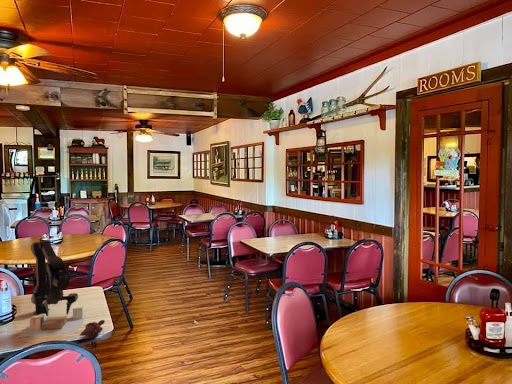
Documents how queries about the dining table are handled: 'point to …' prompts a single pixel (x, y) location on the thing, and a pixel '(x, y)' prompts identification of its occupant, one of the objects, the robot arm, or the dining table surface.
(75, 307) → the beige rectangular block
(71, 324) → the mat
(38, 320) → the maple block
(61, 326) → the plinth
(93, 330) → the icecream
